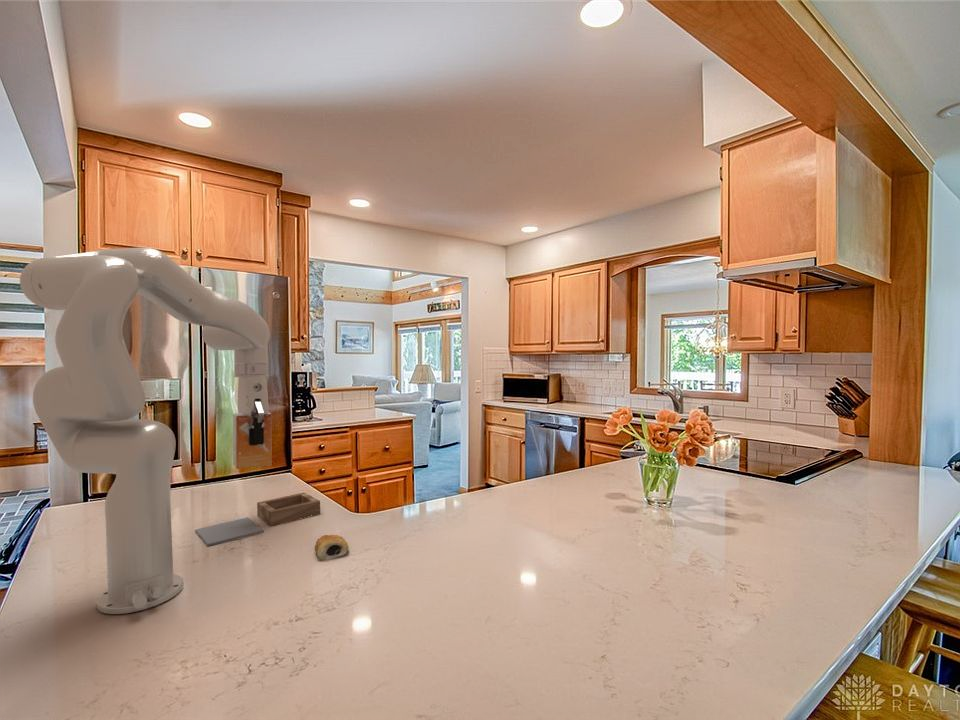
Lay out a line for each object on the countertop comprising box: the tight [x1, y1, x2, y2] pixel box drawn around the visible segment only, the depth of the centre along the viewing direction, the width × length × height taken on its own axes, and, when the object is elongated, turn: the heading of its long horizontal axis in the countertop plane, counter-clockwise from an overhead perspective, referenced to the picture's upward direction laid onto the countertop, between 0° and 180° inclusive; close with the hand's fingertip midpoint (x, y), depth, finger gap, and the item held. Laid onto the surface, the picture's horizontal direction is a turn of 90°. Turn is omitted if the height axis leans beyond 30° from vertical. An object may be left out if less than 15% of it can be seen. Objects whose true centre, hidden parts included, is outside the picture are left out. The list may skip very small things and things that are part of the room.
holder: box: [256, 492, 321, 527], centre depth 127 cm, size 11×13×4 cm
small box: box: [232, 412, 273, 470], centre depth 119 cm, size 8×6×13 cm
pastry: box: [314, 534, 350, 562], centre depth 104 cm, size 9×7×4 cm
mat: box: [194, 516, 264, 547], centre depth 115 cm, size 12×12×1 cm
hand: (251, 442), depth 119 cm, fingers closed on small box, 6 cm apart
